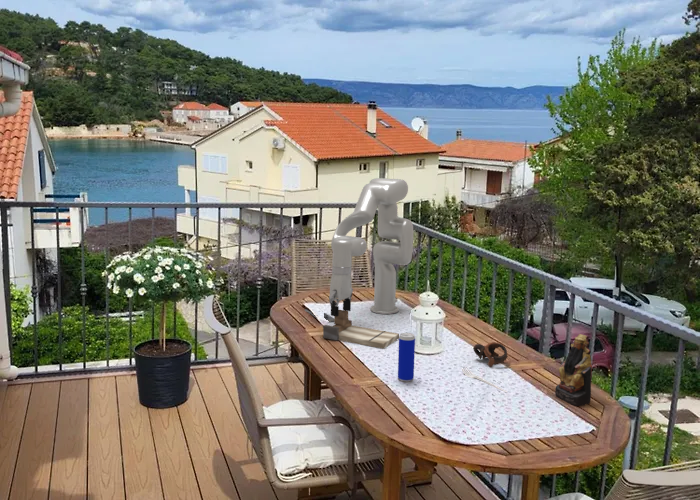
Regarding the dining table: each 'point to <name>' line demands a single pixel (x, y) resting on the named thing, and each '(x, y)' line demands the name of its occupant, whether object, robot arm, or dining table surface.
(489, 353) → the brown looped ornament
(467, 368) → the fork
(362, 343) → the board
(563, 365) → the statue
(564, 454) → the dining table surface
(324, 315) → the driftwood
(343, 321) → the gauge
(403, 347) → the beverage can
